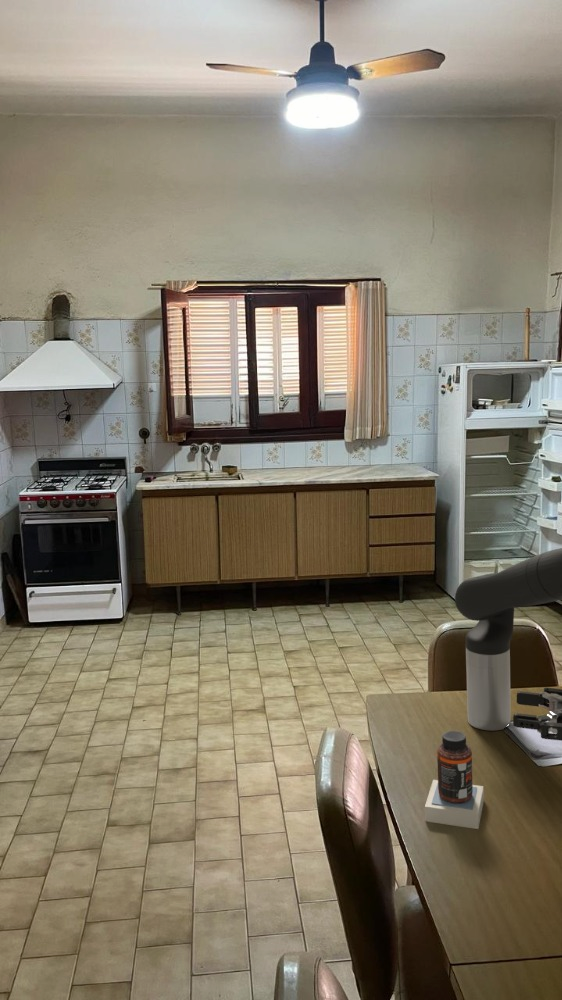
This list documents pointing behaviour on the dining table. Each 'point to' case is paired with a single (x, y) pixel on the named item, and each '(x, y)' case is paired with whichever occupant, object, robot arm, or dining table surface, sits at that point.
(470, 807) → the plinth
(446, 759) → the supplement bottle
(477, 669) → the robot arm
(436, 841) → the dining table surface
